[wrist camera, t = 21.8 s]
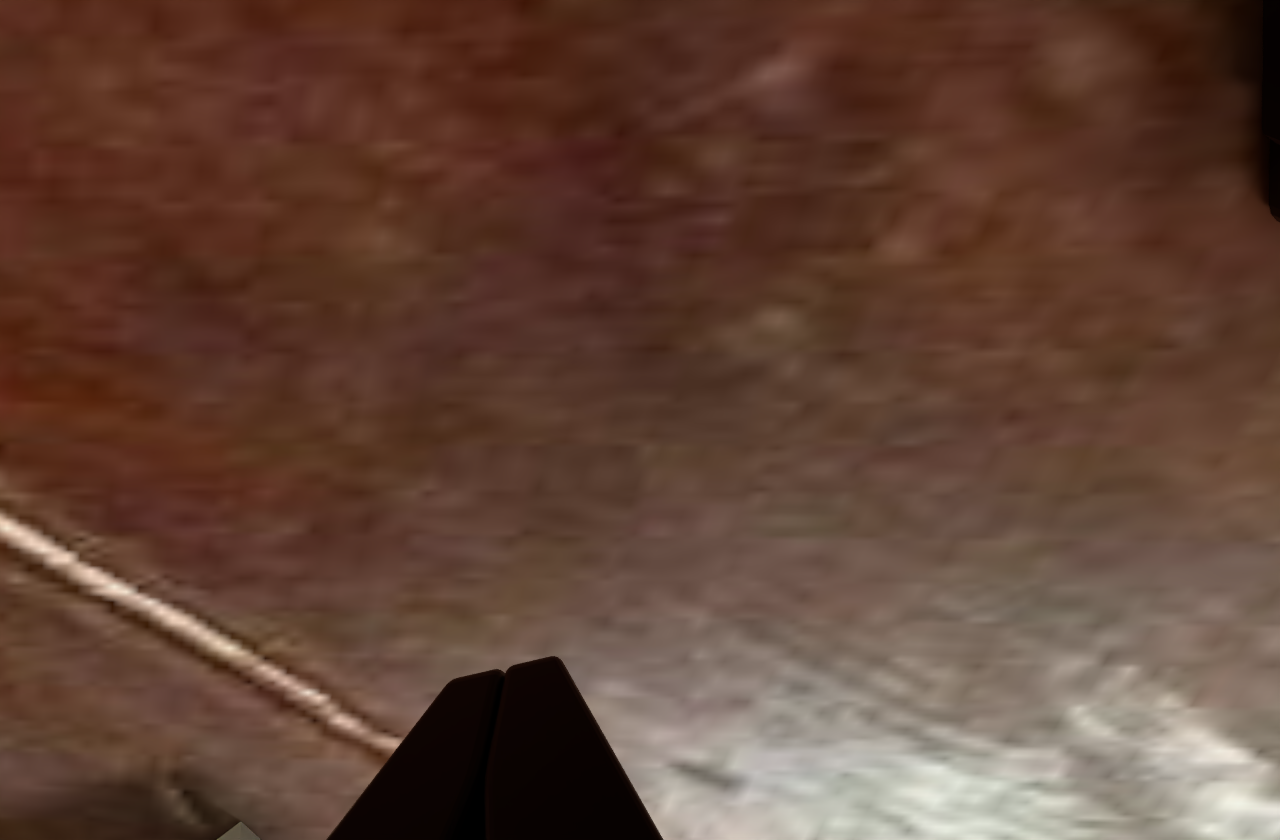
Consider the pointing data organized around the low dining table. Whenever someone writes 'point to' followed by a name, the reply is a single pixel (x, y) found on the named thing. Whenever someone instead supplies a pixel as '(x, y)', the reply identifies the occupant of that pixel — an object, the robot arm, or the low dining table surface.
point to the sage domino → (239, 833)
